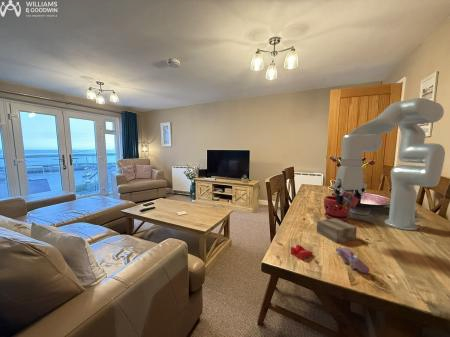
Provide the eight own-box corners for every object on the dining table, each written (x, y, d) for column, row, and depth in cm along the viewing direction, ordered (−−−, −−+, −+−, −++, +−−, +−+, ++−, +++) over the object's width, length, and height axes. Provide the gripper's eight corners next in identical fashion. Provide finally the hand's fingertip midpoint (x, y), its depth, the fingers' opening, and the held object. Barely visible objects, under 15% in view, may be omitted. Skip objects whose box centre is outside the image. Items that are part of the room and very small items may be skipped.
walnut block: (334, 229, 94) (335, 218, 93) (355, 240, 83) (356, 227, 83) (316, 232, 90) (317, 220, 90) (336, 243, 80) (337, 230, 79)
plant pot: (349, 224, 100) (351, 202, 99) (322, 219, 107) (323, 199, 105) (349, 217, 111) (350, 197, 110) (324, 213, 118) (325, 194, 116)
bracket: (301, 261, 68) (301, 253, 68) (290, 254, 72) (290, 247, 72) (312, 255, 71) (312, 248, 71) (301, 250, 75) (301, 242, 75)
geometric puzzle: (365, 202, 81) (352, 186, 84) (361, 205, 76) (348, 188, 79) (348, 209, 85) (337, 193, 88) (344, 212, 81) (332, 196, 84)
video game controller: (338, 261, 70) (331, 245, 69) (349, 255, 70) (342, 239, 69) (359, 279, 60) (351, 261, 59) (372, 273, 60) (364, 254, 59)
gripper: (361, 162, 86) (358, 200, 87) (326, 163, 83) (324, 202, 85) (376, 164, 78) (373, 205, 80) (339, 164, 76) (336, 207, 77)
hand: (348, 203), depth 82 cm, fingers closed on geometric puzzle, 8 cm apart
